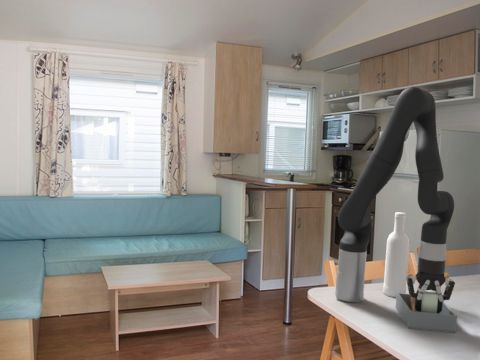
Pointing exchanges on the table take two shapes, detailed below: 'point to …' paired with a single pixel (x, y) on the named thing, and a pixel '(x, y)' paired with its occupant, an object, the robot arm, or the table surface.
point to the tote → (425, 316)
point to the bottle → (396, 258)
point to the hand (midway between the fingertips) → (427, 311)
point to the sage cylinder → (429, 302)
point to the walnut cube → (412, 304)
